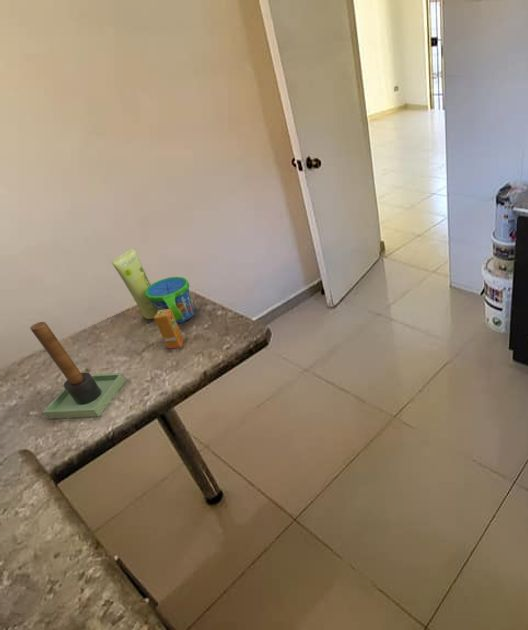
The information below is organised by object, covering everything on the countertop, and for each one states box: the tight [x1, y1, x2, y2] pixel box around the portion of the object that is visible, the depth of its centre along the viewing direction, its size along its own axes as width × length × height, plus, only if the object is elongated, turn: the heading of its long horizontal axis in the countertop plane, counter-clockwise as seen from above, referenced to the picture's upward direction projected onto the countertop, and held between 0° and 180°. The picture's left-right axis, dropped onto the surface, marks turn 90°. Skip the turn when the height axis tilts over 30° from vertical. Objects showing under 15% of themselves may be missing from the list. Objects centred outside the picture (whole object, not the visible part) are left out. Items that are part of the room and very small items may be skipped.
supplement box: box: [153, 309, 185, 350], centre depth 109 cm, size 3×4×10 cm
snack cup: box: [145, 276, 195, 324], centre depth 119 cm, size 16×10×10 cm
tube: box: [110, 247, 158, 320], centre depth 117 cm, size 6×5×20 cm
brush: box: [29, 321, 101, 405], centre depth 91 cm, size 5×5×20 cm
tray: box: [42, 372, 127, 420], centre depth 97 cm, size 11×11×2 cm
